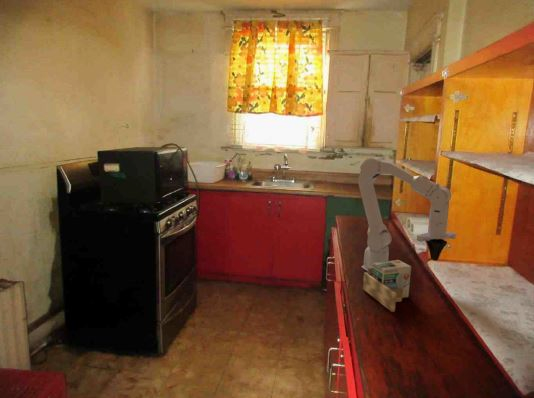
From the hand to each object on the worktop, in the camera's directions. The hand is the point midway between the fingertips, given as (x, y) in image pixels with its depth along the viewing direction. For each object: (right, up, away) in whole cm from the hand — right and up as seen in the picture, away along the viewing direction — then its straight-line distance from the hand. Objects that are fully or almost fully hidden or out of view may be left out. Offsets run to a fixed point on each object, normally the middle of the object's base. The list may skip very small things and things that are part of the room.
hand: (434, 259), depth 133 cm
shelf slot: (-20, -11, -9) cm, 25 cm away
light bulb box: (-18, -11, -7) cm, 22 cm away
